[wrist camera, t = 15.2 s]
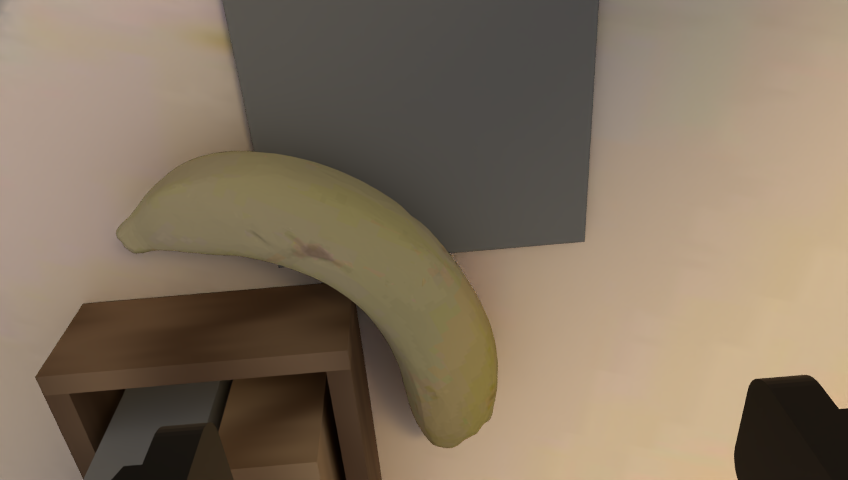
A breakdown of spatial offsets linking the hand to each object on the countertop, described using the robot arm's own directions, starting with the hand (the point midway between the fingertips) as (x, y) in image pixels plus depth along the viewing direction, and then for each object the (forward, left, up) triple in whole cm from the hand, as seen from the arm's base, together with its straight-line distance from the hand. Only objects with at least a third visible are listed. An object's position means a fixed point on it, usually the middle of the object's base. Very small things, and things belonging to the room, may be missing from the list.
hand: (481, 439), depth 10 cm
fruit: (0, +13, -13) cm, 19 cm away
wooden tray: (+8, +13, -14) cm, 21 cm away
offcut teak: (+6, +13, -14) cm, 20 cm away
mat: (0, 0, -14) cm, 14 cm away
